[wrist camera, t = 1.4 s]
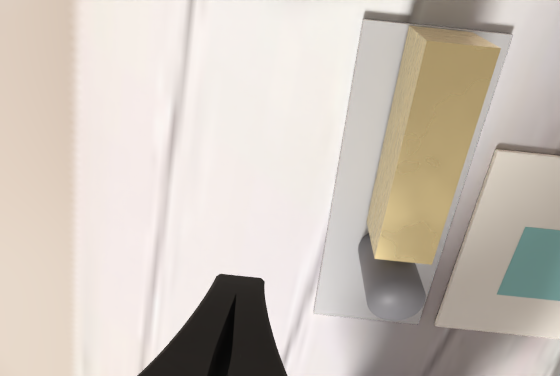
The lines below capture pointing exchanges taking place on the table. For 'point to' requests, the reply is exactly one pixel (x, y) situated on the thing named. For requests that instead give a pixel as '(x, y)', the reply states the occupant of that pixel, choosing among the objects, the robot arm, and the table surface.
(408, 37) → the bar
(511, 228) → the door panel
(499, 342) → the table surface
